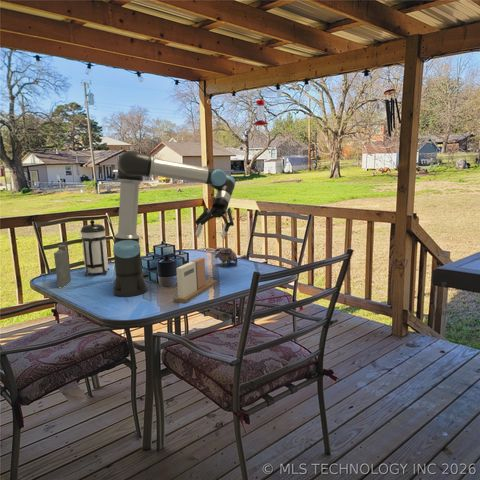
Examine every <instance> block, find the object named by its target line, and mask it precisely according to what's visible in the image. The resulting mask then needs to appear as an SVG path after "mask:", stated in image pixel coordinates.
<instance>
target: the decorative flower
mask: <svg viewBox="0 0 480 480" xmlns="http://www.w3.org/2000/svg"><path fill="white" fill-rule="evenodd" d="M214 253H216V254H215V256H214V258H215V259H217V258H218V260H220V261H221V263H220V266H221V268H223V267H224V266H226V265H227V264H228V263H232V262H234V265H235V266H237V265H238V257H237V255H236V253H235V252H234V251H233V250H232V248H230V247H228V248H227V247H218V248H216V249H215V250H214Z"/></svg>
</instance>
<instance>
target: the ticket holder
mask: <svg viewBox="0 0 480 480" xmlns="http://www.w3.org/2000/svg"><path fill="white" fill-rule="evenodd" d="M205 280H206V285H204V286H202V287H201V288H199V289H197V279H196V262H191V261H190V262H187V263H184V264H182V265H181V266H178V267H176V282H177V283H176V284H177V296H175V297H173V303H182V304H187V303H188V302H190V301H192V300H193V299H195V298H197V297H198V296H200V295H201V294H204V293H205V292H206V291H208V290H209V289H211V288H212V287H214V286H217V284H218V283H219V282H218V280H216V279H206V278H205Z"/></svg>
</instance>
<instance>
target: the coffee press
mask: <svg viewBox="0 0 480 480" xmlns="http://www.w3.org/2000/svg"><path fill="white" fill-rule="evenodd" d="M89 223H90V224H87V225H83V226H82V227H81V229H80V233H81V238H80V239H81V241H82V250H83V251H82V253H83V260H84V261H83V262H84V268H85V269H84V270H85V273H84V276H85V277H87V276H88V277H89V275H91V274H102V275H103V274H104V275H103V276H106V275H107V271H106V270H109V271H110V268H109V260H108V252H107V240H106V239H107V236H106V228H105V226H104V225H102V224H100V223H98V224H97V223H95V220H93V219H91V220H90V221H89Z"/></svg>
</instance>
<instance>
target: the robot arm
mask: <svg viewBox="0 0 480 480" xmlns="http://www.w3.org/2000/svg"><path fill="white" fill-rule="evenodd" d="M151 176H154V177H155V176H156V177H161V178H167V179H168V178H169V179H172V180H173V179H175V180H180V181H185V182H192V183H199V184H203V185H204V184H205V185H208V186H210V187H211V188H213V189H214V190H216V191H217V192H216V194H215V197H214V200H213V202H212V206H211V208H210V209H209V208H208V207H205V209H204V211H203V212H202V213H201V214H200V215H199V216H198V217H197V218H196V220H194V223H195V225H196V232H195V236H196V238H198V239H199V238H200V235H201V233H202V230H203V226H204V225H205V224H206V223H208V222H209V221H210V220H212V219H216V218H218V219H220V218H222V219H223V221H224V222H225V223H224V225H223V227H222V230H221V233H220V236H221V238H222V239H225V237H226V233H227V232H229V229H230V227H234V226H235V224H234V219H233V216H232V213H233V211H232V209H231V207H229V203H230V200H231V198H232V195H233V193H234V189H235V188H236V187H235V186H236V179H235V178H234V177H233V176H232V175H228V174H227V173H226V172H225V171H224V170H222V169H218V168H217V169H215V168H210V167H208V166H206V165H205V166H198V165H193V164H189V163H182V162H176V161H171V160H164V159H160V158H154V156H153V155H149V154H145V153H141V152H138V151H135V150H127V151H125V152H123V153H122V154H120V156H119V157H118V159H117V177H116V179H117V180H118V182H119V184H120V186H119V204H118V205H119V207H118V225H117V228H118V229H117V233H116V234H115V235H114V239H113V241H114V242H113V243H114V244H113V249H112V253H113V258H114V259H113V260H114V270H115V280H114V284H113V289H112V292H113V293H112V294H113V295H114V296H117V297H126V298H127V297H134V296H139V295H142V294H145V293H146V292H147V291H148V285H147V283H146V280H145V278H144V275H143V272H142V271H143V270H142V268H143V267H142V259H141V258H142V257H141V246H140V236H139V235H138V234H137V231H138V230H137V229H138V227H137V226H138V211H139V193H140V191H139V189H140V184H141V183H142V182H143V178H144V177H148V178H150V177H151ZM228 207H229V208H228ZM226 213H227V216H228V219H229V220H227V218H226V216H225V214H226Z"/></svg>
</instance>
